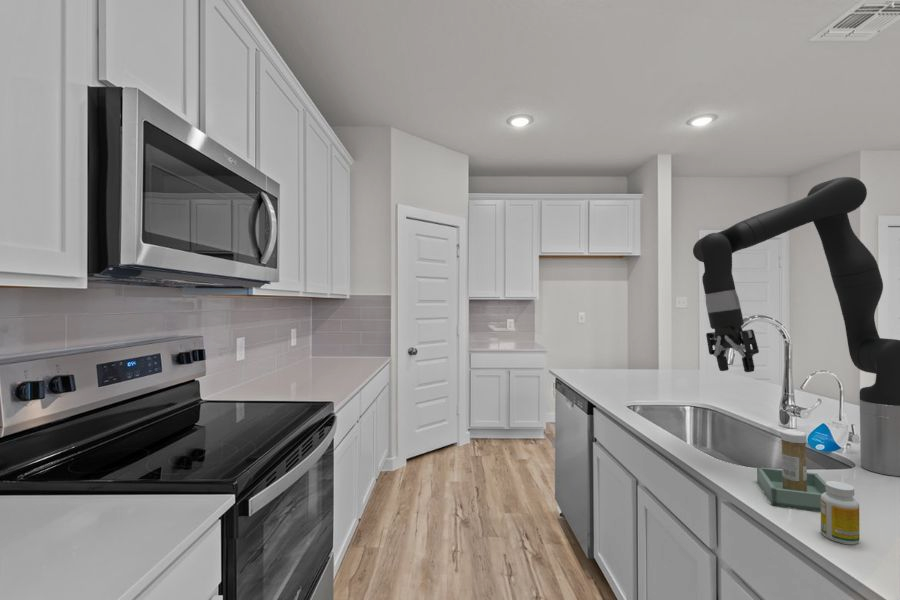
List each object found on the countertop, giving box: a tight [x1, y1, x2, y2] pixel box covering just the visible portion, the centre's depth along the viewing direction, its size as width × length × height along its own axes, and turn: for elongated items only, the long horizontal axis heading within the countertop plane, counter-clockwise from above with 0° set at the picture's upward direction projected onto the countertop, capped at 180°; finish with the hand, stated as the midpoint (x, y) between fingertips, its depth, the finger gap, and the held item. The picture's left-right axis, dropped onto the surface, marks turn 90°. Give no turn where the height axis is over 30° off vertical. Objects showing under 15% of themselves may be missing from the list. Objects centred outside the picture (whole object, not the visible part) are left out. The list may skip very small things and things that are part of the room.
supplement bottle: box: [820, 480, 861, 546], centre depth 82 cm, size 5×5×10 cm
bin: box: [756, 466, 827, 513], centre depth 100 cm, size 14×12×4 cm
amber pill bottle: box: [780, 429, 808, 492], centre depth 100 cm, size 5×5×14 cm
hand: (736, 371), depth 117 cm, fingers open, 8 cm apart
